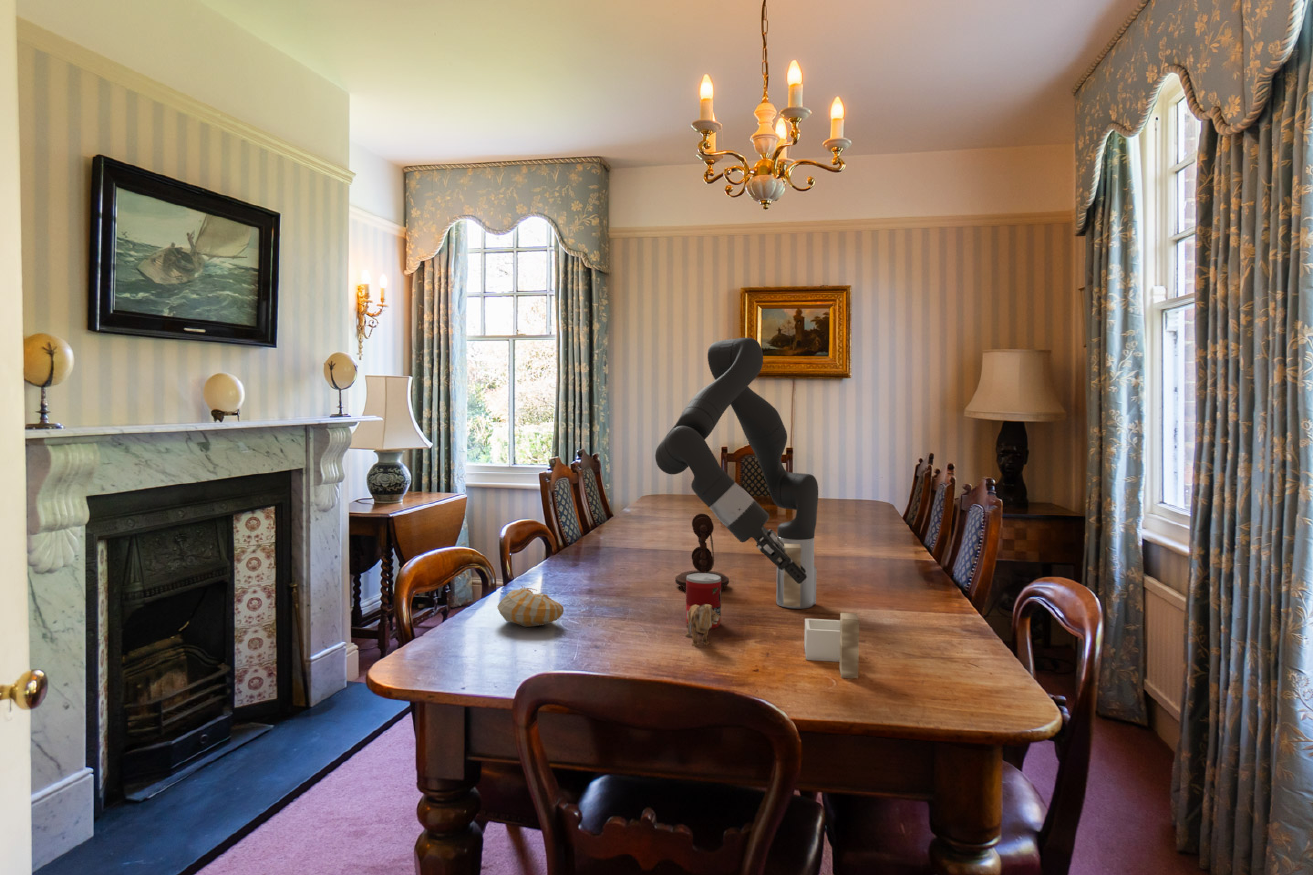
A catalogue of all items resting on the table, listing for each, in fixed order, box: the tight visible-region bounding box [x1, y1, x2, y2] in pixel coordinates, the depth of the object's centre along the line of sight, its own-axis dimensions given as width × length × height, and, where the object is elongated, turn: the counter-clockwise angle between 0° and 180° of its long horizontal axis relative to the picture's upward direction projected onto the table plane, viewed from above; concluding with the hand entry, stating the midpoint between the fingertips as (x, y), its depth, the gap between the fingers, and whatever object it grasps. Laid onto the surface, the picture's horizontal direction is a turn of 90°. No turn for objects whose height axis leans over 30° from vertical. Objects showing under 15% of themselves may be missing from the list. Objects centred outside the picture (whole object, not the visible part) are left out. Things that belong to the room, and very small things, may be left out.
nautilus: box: [496, 585, 565, 628], centre depth 170 cm, size 8×22×15 cm
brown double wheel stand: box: [674, 513, 730, 592], centre depth 203 cm, size 15×15×20 cm
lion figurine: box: [685, 604, 720, 647], centre depth 158 cm, size 15×5×9 cm, turn 16°
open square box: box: [803, 618, 840, 663], centre depth 149 cm, size 8×8×6 cm
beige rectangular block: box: [838, 612, 860, 680], centre depth 138 cm, size 3×4×11 cm
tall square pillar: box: [784, 544, 801, 607], centre depth 140 cm, size 3×4×11 cm
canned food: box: [685, 573, 722, 630], centre depth 169 cm, size 8×8×11 cm
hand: (802, 577), depth 140 cm, fingers closed on tall square pillar, 4 cm apart
